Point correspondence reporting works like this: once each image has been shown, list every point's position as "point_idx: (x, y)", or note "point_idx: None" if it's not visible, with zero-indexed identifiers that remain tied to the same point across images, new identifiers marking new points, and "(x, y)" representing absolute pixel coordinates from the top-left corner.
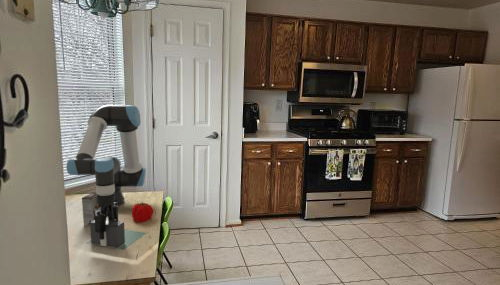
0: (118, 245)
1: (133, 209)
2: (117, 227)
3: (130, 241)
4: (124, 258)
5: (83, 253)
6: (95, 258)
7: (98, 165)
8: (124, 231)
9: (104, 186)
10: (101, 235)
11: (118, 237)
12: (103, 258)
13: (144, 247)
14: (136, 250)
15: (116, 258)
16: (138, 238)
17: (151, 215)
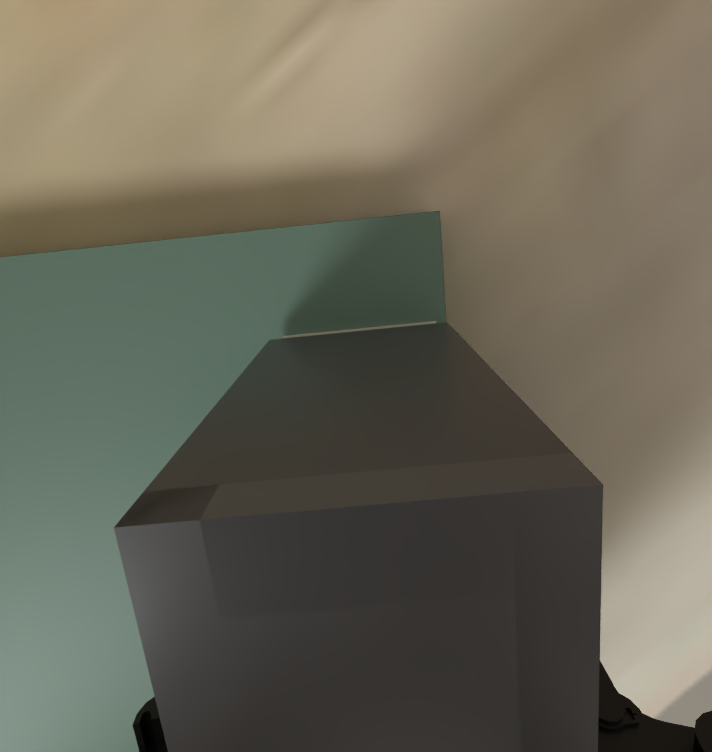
0: (433, 329)
1: None
2: (550, 460)
3: (176, 309)
4: (561, 83)
5: (612, 647)
6: (675, 448)
7: None
8: None
9: None
10: (600, 671)
11: (446, 363)
12: (647, 360)
13: (157, 30)
14: (292, 86)
15: (597, 197)
16: (31, 264)
17: None
